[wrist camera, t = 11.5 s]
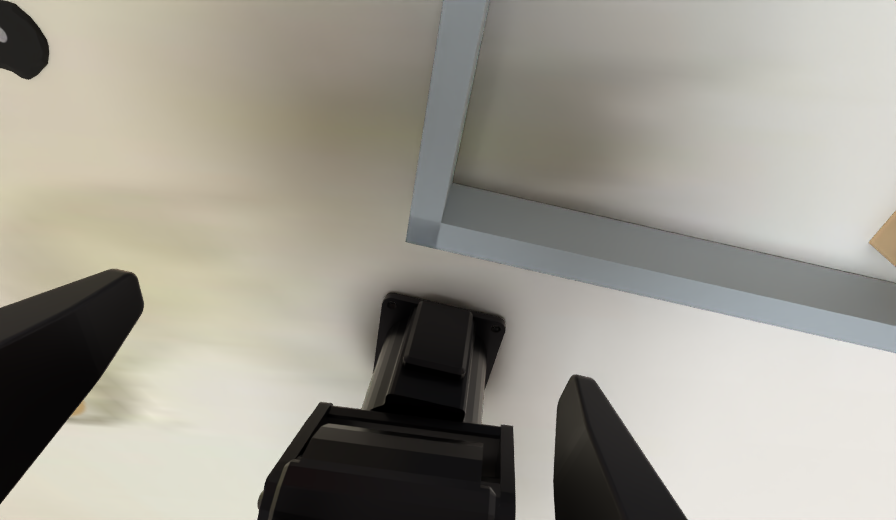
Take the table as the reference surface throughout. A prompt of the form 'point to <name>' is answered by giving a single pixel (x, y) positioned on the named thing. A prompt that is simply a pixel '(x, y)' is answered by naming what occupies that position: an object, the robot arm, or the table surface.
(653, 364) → the table surface
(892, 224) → the wooden plank block
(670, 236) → the cubby
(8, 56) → the cleaver
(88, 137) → the table surface
